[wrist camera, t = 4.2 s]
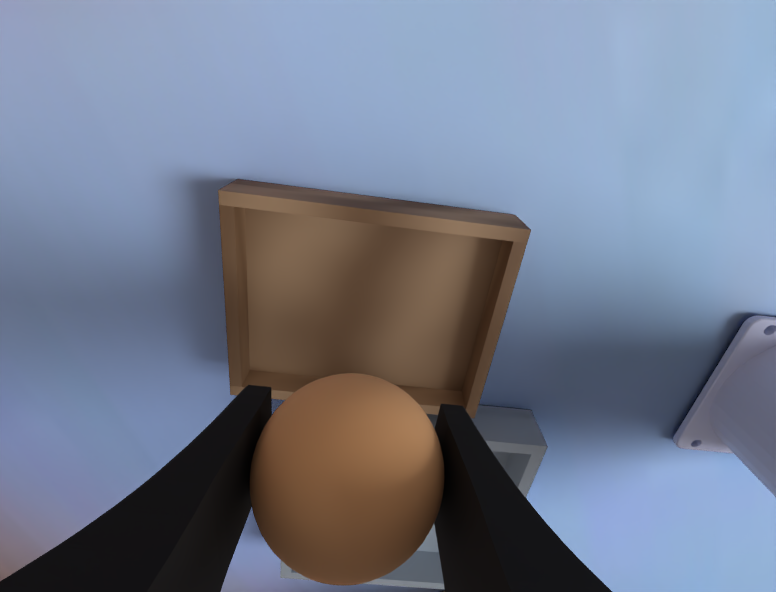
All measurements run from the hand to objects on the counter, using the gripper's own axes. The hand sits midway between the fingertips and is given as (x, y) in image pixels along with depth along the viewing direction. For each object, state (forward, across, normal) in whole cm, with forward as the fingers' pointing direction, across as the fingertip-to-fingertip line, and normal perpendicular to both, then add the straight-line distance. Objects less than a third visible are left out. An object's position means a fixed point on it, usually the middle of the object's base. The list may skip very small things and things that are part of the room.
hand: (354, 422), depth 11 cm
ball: (-2, 0, 0) cm, 2 cm away
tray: (+8, 0, 0) cm, 8 cm away
